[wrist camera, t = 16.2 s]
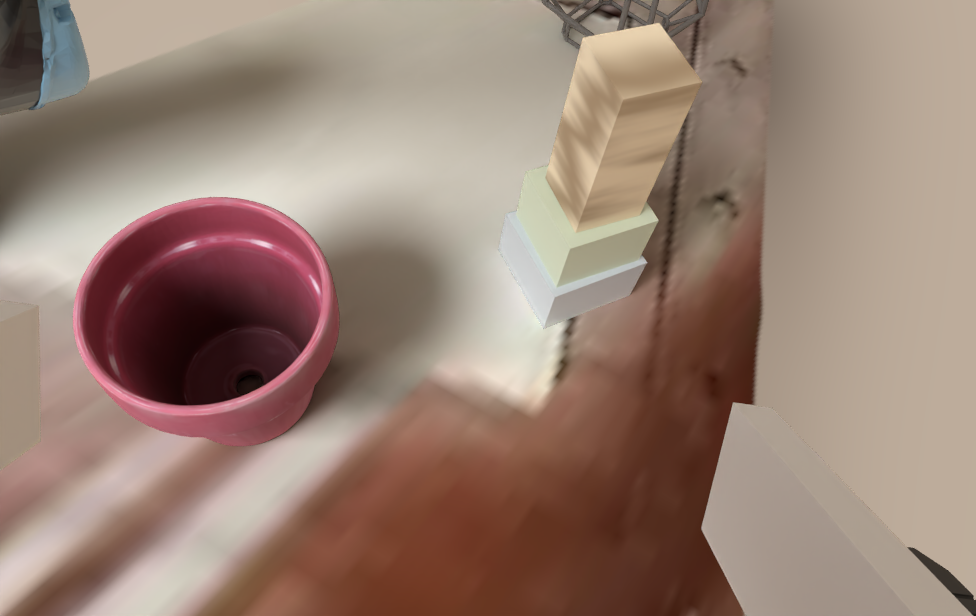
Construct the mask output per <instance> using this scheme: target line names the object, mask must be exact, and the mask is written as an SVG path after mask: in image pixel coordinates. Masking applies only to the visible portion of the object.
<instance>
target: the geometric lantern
mask: <svg viewBox="0 0 976 616" xmlns="http://www.w3.org/2000/svg"><path fill="white" fill-rule="evenodd" d="M551 1H552V2H553V3H554V5H553V4H552V3H551V2H550V1H549V0H542V3H543V4H544V5H545V6H546V7H547V8H549V9H550V10H551V11H553V12H554V13H555V14H557V15H558V16H559V17H560V18H561V19H562V20H563V21H564V25H563V29H562V34H563V36H564V38H565V40H566V41H567V42H569V43H570V44H572V45H573V46H575V47H576V48H578V49H579V50H580V45H579V44H577V43H576V42H574V41H573V40H571V39H570V38H568V36H569V30H570V28H571V27H572V28H574V29H575V30H577V31H579V32H580V33H582V34H583V35H585V36H587V37H588V36H593V35H594V34H593V33H592V32H590V31H589V30H587V29H586V28H585V27H583V26H582V25H581V24H579V23H578V22H579V21H581V20H582V19H583V18H585V17H586V16H587V15H589V14H590V13H591V12H593V11H594V10H595V9H597V8H598V7H599V6H601V5H613V6H614V7H616V8H618V9H619V10H621V11H622V13H621V17H620V21H619V25H618V29H617V31H620V30H624V26H625V22H626V18H627V15H629V16H630V17H632V18H633V19H635V20H637V21H638V22H640V23H641V24H643V25H644V26H646V25H651V24H653V23H654V19H655V15H656V14H658V15H659V16H661V17H663V21H662V23H661V26H662V27H663V29H664V30H665V31H666V33H667V32H668V28H669V26H672V25H676V24H679V23H682V22H684V23H682V24H681V25H679V26H678V27H676V28H675V29H673V30H672V31H670V32H669V33H667V34H668V36H669V37H670V38H671V37H673V36H674V35H676V34H678V33H679V32H681V31H682V30H684V29H685V28H687V27H688V26H690V25H691V24H693V23H694V22H696V21H697V20H699V19H700V18H702V17H703V16H704V15H705V12H706V9H707V5H708V2H709V0H703V2H702V0H696V2H697V6H698V10H699V13H697V14H694V15H691V16H688V17H685V18H682V19H679V20H675V21H672V22H670V21H669V19H670V18H671V17H672V16H673V15H675V14H676V13H677V12H679V11H680V10H681V9H682V8H684V7H685V6H686V5H687V4H689V3H690V2H691V1H692V0H686V1H685V2H684V3H683V4H681V5H680V6H679V7H678V8H676V9H675V10H674V11H673V12H671V13H670V14H669V15H666V14H664V13H662V12H660V11H658V10H657V6H658V2H659V0H653V1H652V5H651V6H649V5H647V4H646V3H644V2H642V1H640V0H632V1H634V2H636V3H637V4H639V5H641V6H643V7H645V8H647V9H648V10H650V14H649V18H648V22H645V21H644V20H642V19H641V18H639V17H637V16H636V15H634V14H633V13H631V12H629V7H630V3H631V0H625V2H624V6H623V7H621V6H620V5H618V4H617V3H615V2H614V1H612V0H609V1H603V0H599V3H597V4H596V5H595V6H593V7H592V8H591V9H589V10H588V11H587V12H585V13H584V14H583V15H581V16H580V17H579V18H577V19H576V20H574V19H572V18H571V16H572V15H573V14H575V13H576V12H577V11H578V10H580V9H581V8H582V7H583V6H585V5H586V4H587V3H589V2H590V1H591V0H585V1H584V2H583V3H581V4H580V5H579V6H577V7H576V8H575V9H574V10H572V11H571V12H570V13H568V14H566V13H565V12H564V11H563V9H562V8H561V6H560V5H559V4H558V2H557V1H556V0H551ZM685 21H686V22H685ZM665 23H666V24H665Z"/></svg>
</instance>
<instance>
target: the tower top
mask: <svg viewBox="0 0 976 616" xmlns="http://www.w3.org/2000/svg"><path fill="white" fill-rule="evenodd" d="M548 166H549V165H547V166H544V167H540V168H536V169H533V170H529V171H526V172H525V176H524V181H523V185H522V190H521V194H520V199H519V203H518V208H517V212H516V215H517V217H518V219H519V221H520V223H521V224H522V226H523V228H524V230H525V232H526V233H527V235H528V237H529V239H530V241H531V243H532V244H533V246H534V248H535V250H536V252H537V254H538V255H539V257H540V259H541V261H542V263H543V264H544V266H545V268H546V270H547V272H548V274H549V275H550V277H551V279H552V281H553V283H554V284H555V286H556V288H557V287H560V286H563V285H566V284H569V283H572V282H575V281H578V280H581V279H584V278H587V277H590V276H593V275H596V274H599V273H602V272H605V271H608V270H611V269H614V268H617V267H620V266H623V265H626V264H629V263H632V262H635V261H638V260H639V258H640V256H641V254H642V252H643V250H644V248H645V246H646V244H647V243H648V241H649V239H650V237H651V235H652V233H653V231H654V229H655V227H656V225H657V223H658V221H659V220H658V219H657V217H656V215H655V214H654V212H653V211H652V209H651V208H650V206H649V205H648V203H647V202H646V203H645V205H644V207H643V209H642V211H641V213H640V215H639V216H636V217H632V218H628V219H625V220H621V221H617V222H614V223H610V224H606V225H603V226H599V227H595V228H592V229H588V230H585V231H581V232H577V233H575V231H574V230H573V228H572V226H571V224H570V222H569V220H568V219H567V217H566V215H565V213H564V211H563V209H562V208H561V206H560V204H559V202H558V200H557V198H556V197H555V195H554V193H553V191H552V189H551V187H550V186H549V184H548V182H547V180H546V178H545V177H546V173H547V169H548Z"/></svg>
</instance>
